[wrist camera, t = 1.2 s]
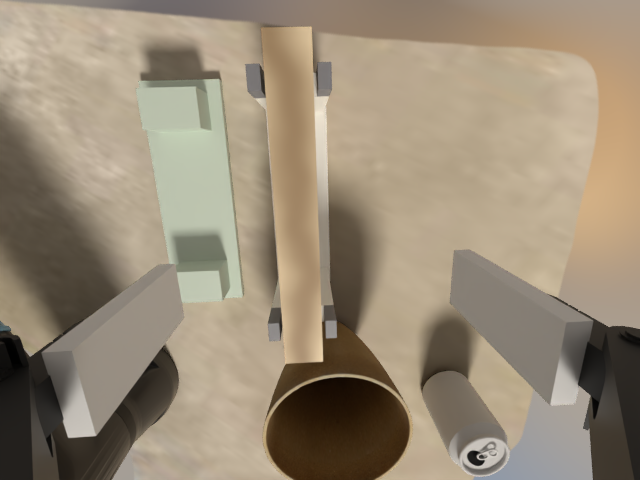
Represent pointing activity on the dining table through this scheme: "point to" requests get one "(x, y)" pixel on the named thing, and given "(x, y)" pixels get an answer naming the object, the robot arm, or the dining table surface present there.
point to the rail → (294, 186)
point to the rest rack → (194, 184)
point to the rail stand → (320, 99)
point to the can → (465, 424)
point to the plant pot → (337, 416)
